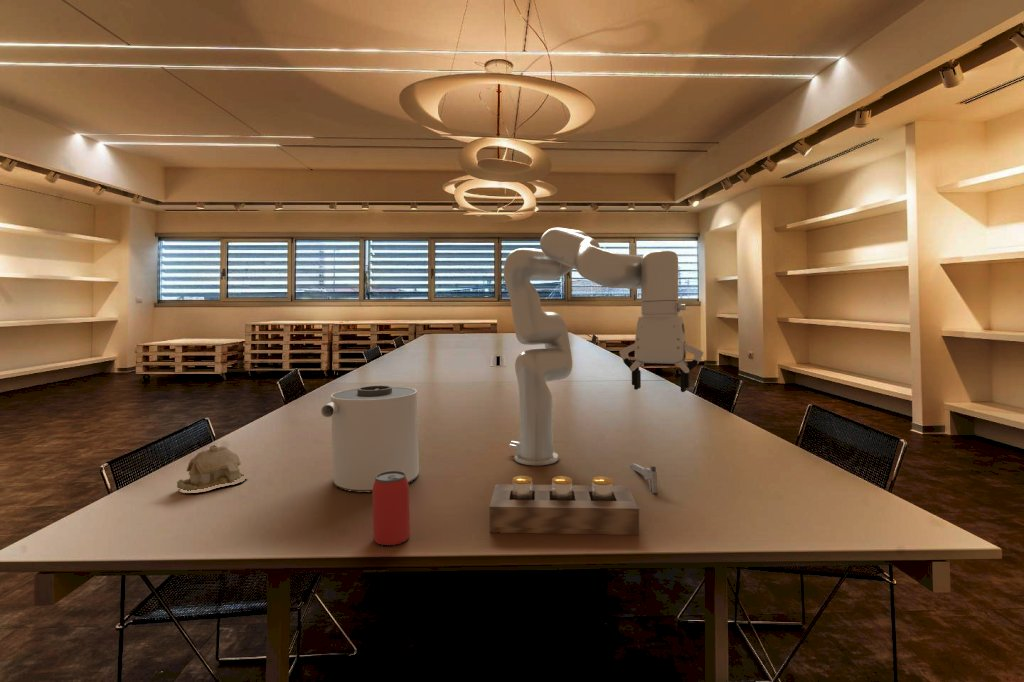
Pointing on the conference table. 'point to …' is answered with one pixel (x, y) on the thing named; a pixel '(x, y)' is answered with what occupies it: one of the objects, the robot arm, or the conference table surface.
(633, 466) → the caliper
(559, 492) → the middle knob
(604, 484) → the right knob
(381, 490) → the beer can
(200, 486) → the ceramic model
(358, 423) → the humidifier
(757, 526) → the conference table surface
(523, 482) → the left knob
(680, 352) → the robot arm
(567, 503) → the knob console
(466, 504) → the conference table surface
